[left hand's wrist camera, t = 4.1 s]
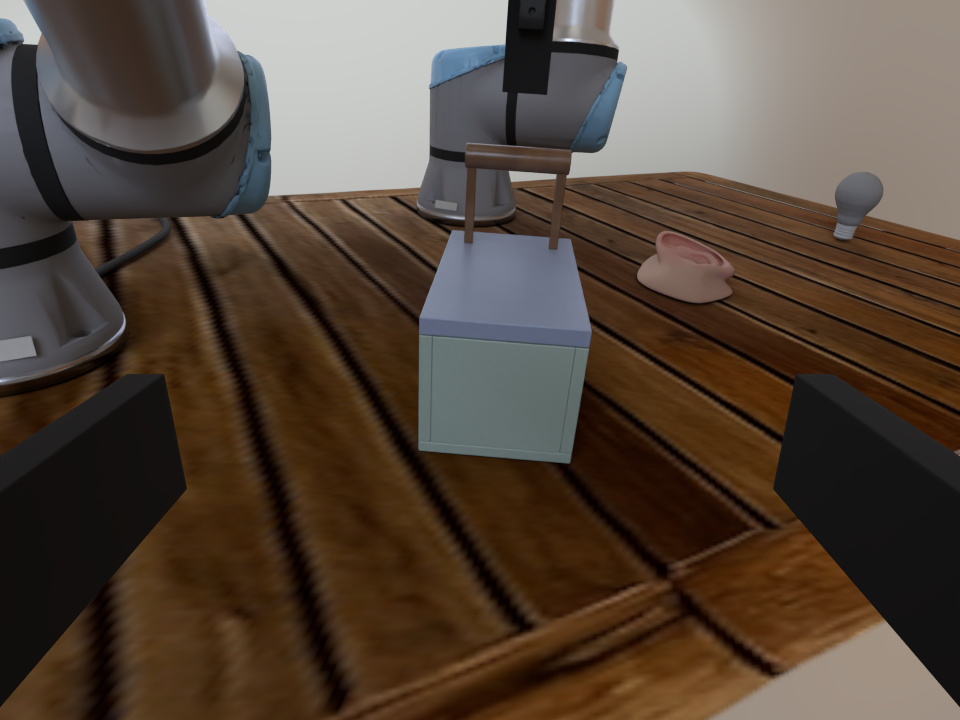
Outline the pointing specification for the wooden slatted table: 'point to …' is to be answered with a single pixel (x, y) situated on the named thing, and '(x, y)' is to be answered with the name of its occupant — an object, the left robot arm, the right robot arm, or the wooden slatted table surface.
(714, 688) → the wooden slatted table surface
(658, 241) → the anatomical model
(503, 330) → the lid
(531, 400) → the chest
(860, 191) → the light bulb
